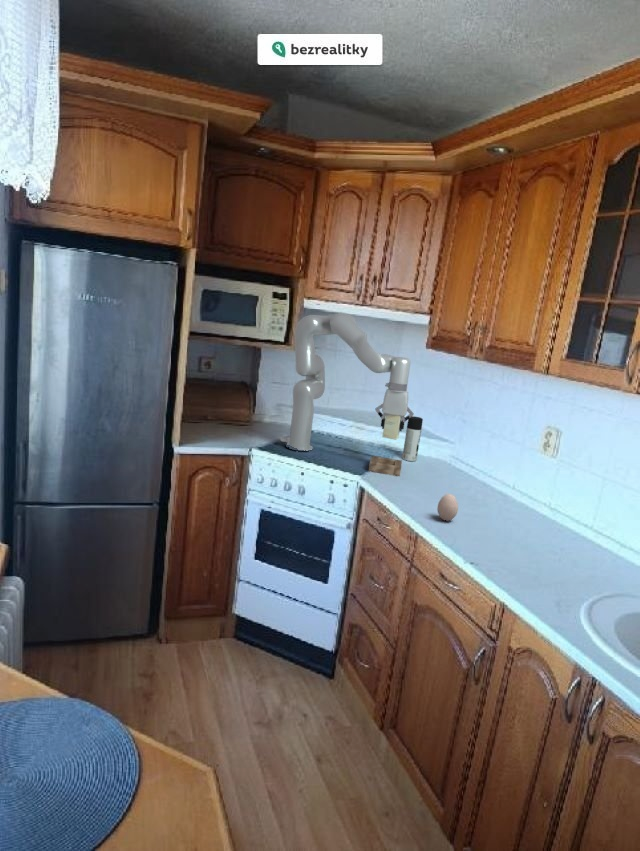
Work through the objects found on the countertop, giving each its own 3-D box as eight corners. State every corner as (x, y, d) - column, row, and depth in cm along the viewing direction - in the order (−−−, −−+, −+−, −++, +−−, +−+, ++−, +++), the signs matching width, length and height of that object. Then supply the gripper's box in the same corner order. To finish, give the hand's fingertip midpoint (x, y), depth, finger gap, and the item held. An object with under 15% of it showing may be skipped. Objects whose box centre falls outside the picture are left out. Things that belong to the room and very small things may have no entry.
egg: (442, 524, 187) (447, 498, 185) (431, 516, 192) (436, 491, 191) (459, 523, 189) (464, 497, 187) (448, 516, 195) (452, 490, 193)
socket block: (368, 471, 237) (369, 463, 236) (370, 463, 249) (372, 455, 249) (399, 476, 235) (401, 468, 234) (400, 468, 248) (401, 460, 247)
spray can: (417, 462, 261) (424, 420, 257) (402, 460, 261) (409, 418, 257) (415, 458, 267) (422, 417, 263) (401, 456, 267) (407, 415, 263)
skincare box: (382, 437, 238) (385, 408, 236) (384, 435, 242) (388, 407, 240) (396, 440, 236) (400, 411, 234) (399, 438, 240) (403, 410, 238)
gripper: (376, 385, 232) (370, 428, 236) (418, 391, 230) (412, 434, 234) (377, 383, 240) (371, 425, 243) (418, 389, 237) (412, 430, 241)
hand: (391, 429), depth 238 cm, fingers closed on skincare box, 6 cm apart
